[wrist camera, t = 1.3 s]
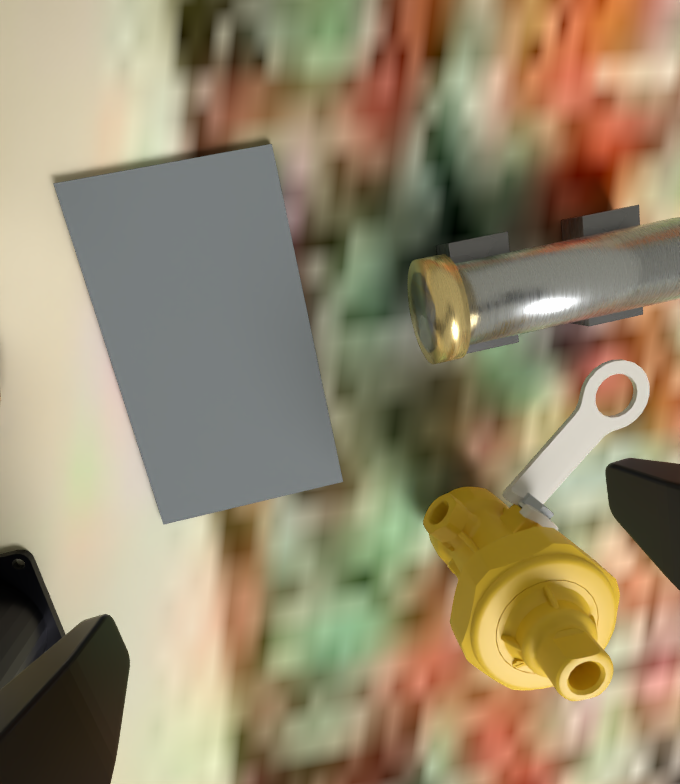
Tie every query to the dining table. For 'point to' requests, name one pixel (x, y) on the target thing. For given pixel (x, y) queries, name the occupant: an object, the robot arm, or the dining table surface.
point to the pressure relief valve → (534, 564)
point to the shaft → (541, 282)
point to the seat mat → (206, 328)
